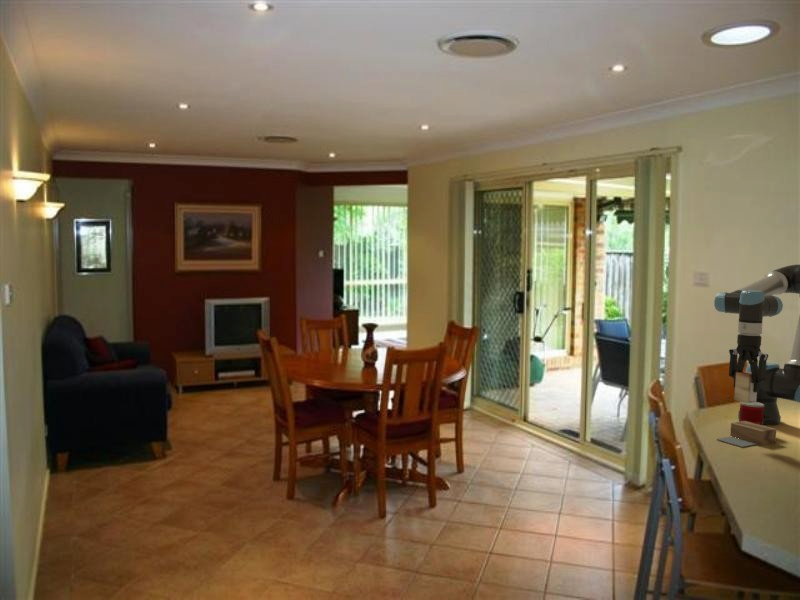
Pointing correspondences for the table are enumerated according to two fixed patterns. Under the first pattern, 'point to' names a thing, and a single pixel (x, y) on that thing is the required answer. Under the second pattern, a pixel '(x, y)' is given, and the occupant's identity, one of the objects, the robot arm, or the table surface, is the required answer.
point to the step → (753, 432)
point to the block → (743, 387)
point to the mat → (737, 441)
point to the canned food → (752, 412)
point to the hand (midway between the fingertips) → (745, 399)
